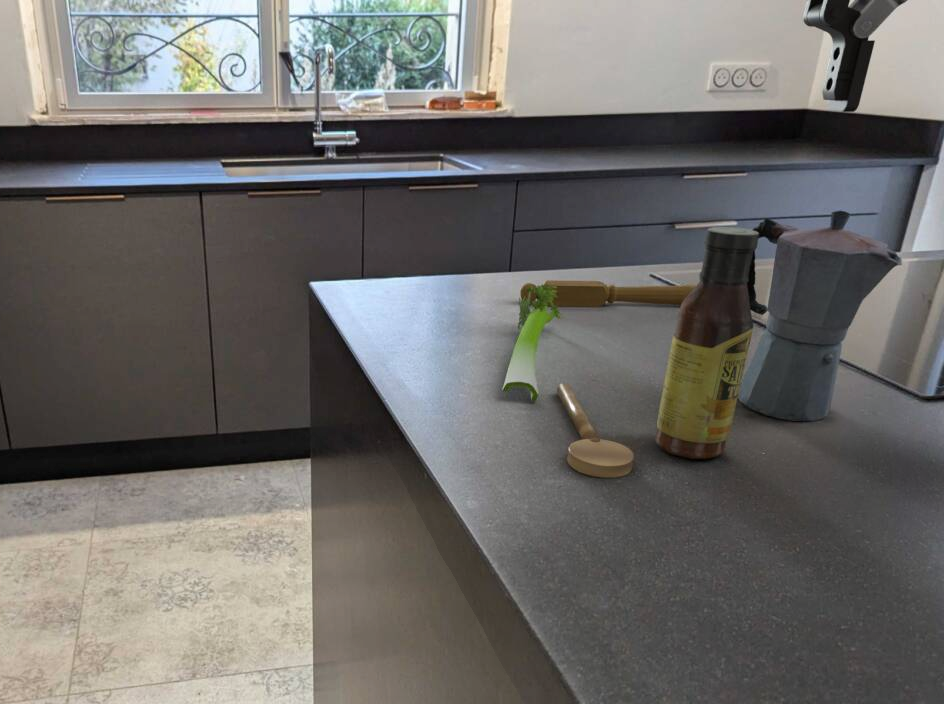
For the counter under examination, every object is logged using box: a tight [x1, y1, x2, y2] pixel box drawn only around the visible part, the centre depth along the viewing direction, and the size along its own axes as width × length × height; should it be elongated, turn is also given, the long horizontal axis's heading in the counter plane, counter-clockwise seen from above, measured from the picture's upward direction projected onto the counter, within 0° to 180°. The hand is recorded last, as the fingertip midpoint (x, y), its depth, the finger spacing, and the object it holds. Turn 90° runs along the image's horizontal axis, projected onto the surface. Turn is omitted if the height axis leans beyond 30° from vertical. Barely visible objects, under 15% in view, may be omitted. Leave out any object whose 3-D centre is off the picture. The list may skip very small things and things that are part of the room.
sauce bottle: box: [655, 226, 759, 460], centre depth 72 cm, size 6×6×20 cm
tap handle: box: [519, 279, 697, 308], centre depth 121 cm, size 3×3×30 cm
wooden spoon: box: [556, 382, 635, 479], centre depth 80 cm, size 20×6×1 cm, turn 178°
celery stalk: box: [501, 284, 563, 404], centre depth 99 cm, size 6×7×30 cm
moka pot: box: [737, 210, 903, 422], centre depth 82 cm, size 10×15×20 cm, turn 36°
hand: (915, 111), depth 48 cm, fingers open, 8 cm apart
